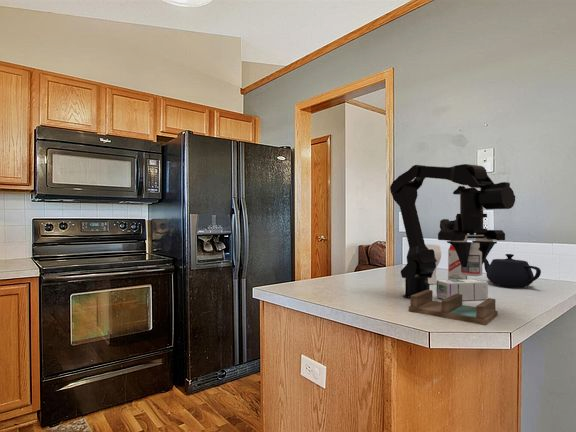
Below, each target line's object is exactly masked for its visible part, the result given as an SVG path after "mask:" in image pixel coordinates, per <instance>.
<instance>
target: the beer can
mask: <svg viewBox="0 0 576 432" xmlns="http://www.w3.org/2000/svg"><path fill="white" fill-rule="evenodd" d="M447 256H448V257H447V280H458V279H468V276H467V275H462V274H461V263H460V260H459V258H458V255H457V252H456V250H455V248H454V247H453V246H452V245H451V244H449V248H448V251H447Z"/></svg>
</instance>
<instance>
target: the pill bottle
mask: <svg viewBox="0 0 576 432" xmlns="http://www.w3.org/2000/svg"><path fill="white" fill-rule="evenodd" d="M479 247H480V244H479V243H475V242H472V241H471V247H470V252H469V257H468V262H467V265H466V267H462V266H461V274H462V275H467V277H468V276H469V277H480V276H483V265H482V252H481V251H479Z"/></svg>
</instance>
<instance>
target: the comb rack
mask: <svg viewBox="0 0 576 432" xmlns="http://www.w3.org/2000/svg"><path fill="white" fill-rule="evenodd" d="M433 296H434V295H433V289H430V290H425V291H422V292H420V293H417V294H414V295H411V298H410V304H409V306H408V312H412V311H413V313H419V314H424V315H430V316H435V317H439V318H445V319H450V320H456V321H462V322H467V323H474V324H477V325H478V324H479V325H482V326H483V325H484V326H487V325H489V323H490V322H492V321H493V320H494V319H495V318H496V317H497V316H498V310H497V309H496V299H495V298H491V297H488V299H486V300H484V301H483V300H482V302H481V303H479V304H477V305H476V306H473V305H472V306H471V305H465V304H463V301H462V294H455V295H452V296H450V297H448V298H446V299H444V300H443V299H441V301H437V300H433Z"/></svg>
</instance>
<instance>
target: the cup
mask: <svg viewBox="0 0 576 432" xmlns="http://www.w3.org/2000/svg"><path fill="white" fill-rule="evenodd" d="M425 245H426V247H427V248H428V249H433V250H434V254H435V258H436V260H437V262H436V268H435V270H434V271H433V274H432V277H431V278H428V283H429V284H430V285H434V284H435V285H437V280H438V279H437V267H438V266H439V264H440V263H441V259H442V250H441V246H440V244H430V243H429V244H425Z"/></svg>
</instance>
